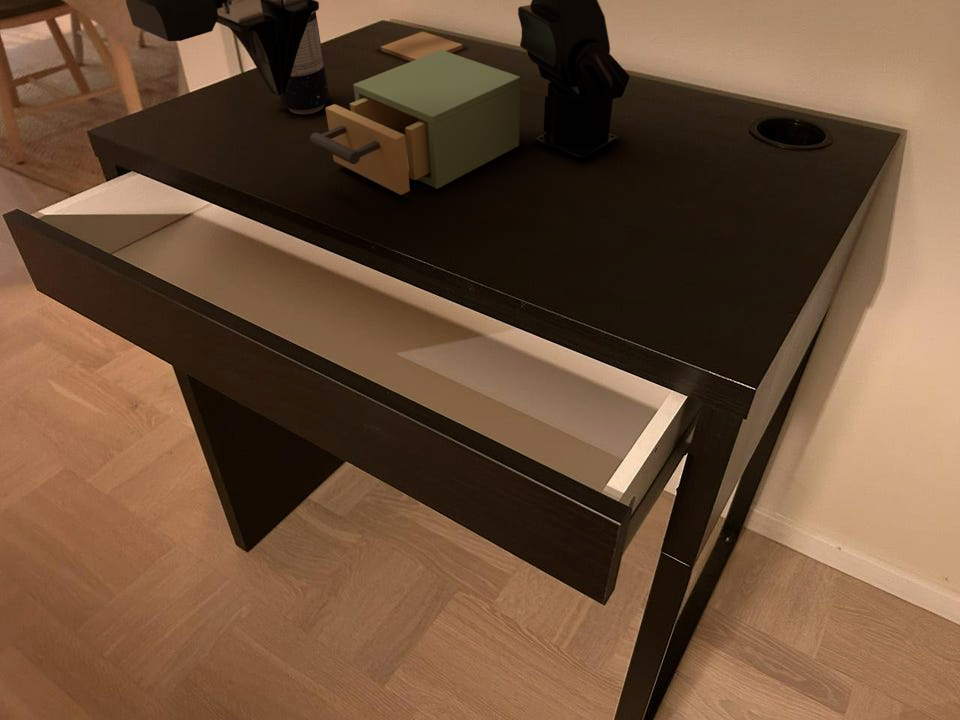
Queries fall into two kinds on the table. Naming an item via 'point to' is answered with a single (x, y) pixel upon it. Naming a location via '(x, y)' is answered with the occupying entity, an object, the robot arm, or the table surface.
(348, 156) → the drawer
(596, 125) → the robot arm
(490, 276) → the table surface
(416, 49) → the coaster
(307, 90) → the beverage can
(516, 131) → the cabinet
